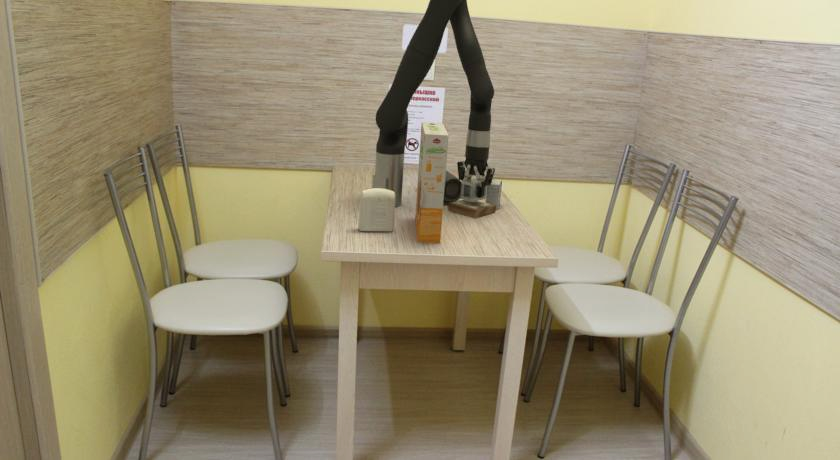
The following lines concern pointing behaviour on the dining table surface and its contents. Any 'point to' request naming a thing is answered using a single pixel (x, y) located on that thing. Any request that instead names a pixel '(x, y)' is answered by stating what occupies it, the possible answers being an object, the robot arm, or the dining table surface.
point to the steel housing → (471, 190)
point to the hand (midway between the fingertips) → (473, 195)
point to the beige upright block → (377, 210)
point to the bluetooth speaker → (452, 188)
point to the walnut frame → (472, 208)
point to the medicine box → (494, 193)
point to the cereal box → (431, 181)
